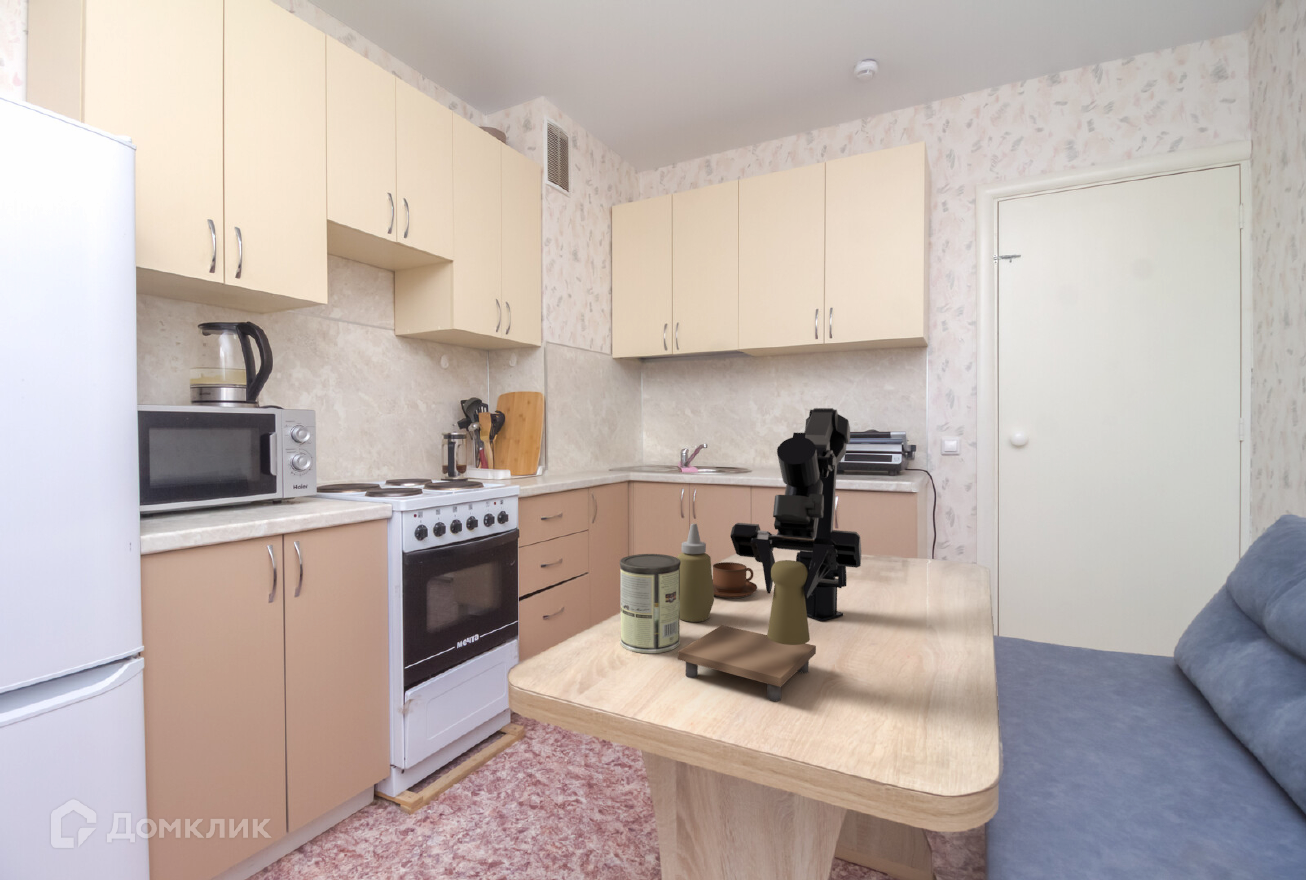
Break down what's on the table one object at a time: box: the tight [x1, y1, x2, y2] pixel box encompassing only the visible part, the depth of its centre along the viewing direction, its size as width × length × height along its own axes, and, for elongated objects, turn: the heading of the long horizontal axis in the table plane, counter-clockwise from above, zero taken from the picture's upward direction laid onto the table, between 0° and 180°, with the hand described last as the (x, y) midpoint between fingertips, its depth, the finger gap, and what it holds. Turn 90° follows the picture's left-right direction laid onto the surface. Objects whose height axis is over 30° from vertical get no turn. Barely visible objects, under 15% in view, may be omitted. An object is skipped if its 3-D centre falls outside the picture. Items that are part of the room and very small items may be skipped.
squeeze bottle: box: [676, 523, 715, 623], centre depth 115 cm, size 8×8×18 cm
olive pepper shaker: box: [766, 559, 811, 645], centre depth 87 cm, size 6×6×11 cm
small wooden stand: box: [677, 624, 817, 702], centre depth 91 cm, size 16×14×4 cm
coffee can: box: [619, 553, 681, 654], centre depth 103 cm, size 10×10×14 cm
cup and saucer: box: [712, 561, 758, 599], centre depth 132 cm, size 12×12×6 cm
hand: (786, 594), depth 86 cm, fingers closed on olive pepper shaker, 5 cm apart
